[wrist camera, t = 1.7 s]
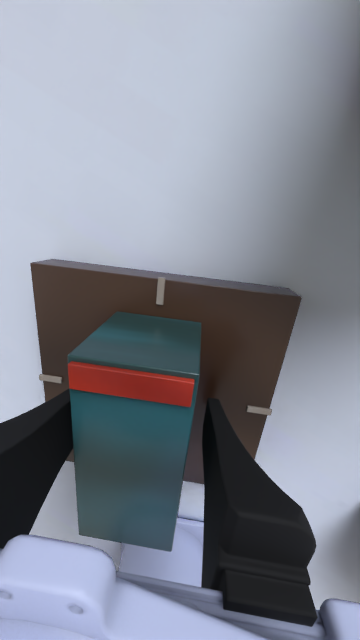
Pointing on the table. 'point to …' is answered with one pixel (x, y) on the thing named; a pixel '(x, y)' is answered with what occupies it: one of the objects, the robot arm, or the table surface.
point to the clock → (183, 304)
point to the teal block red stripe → (133, 426)
